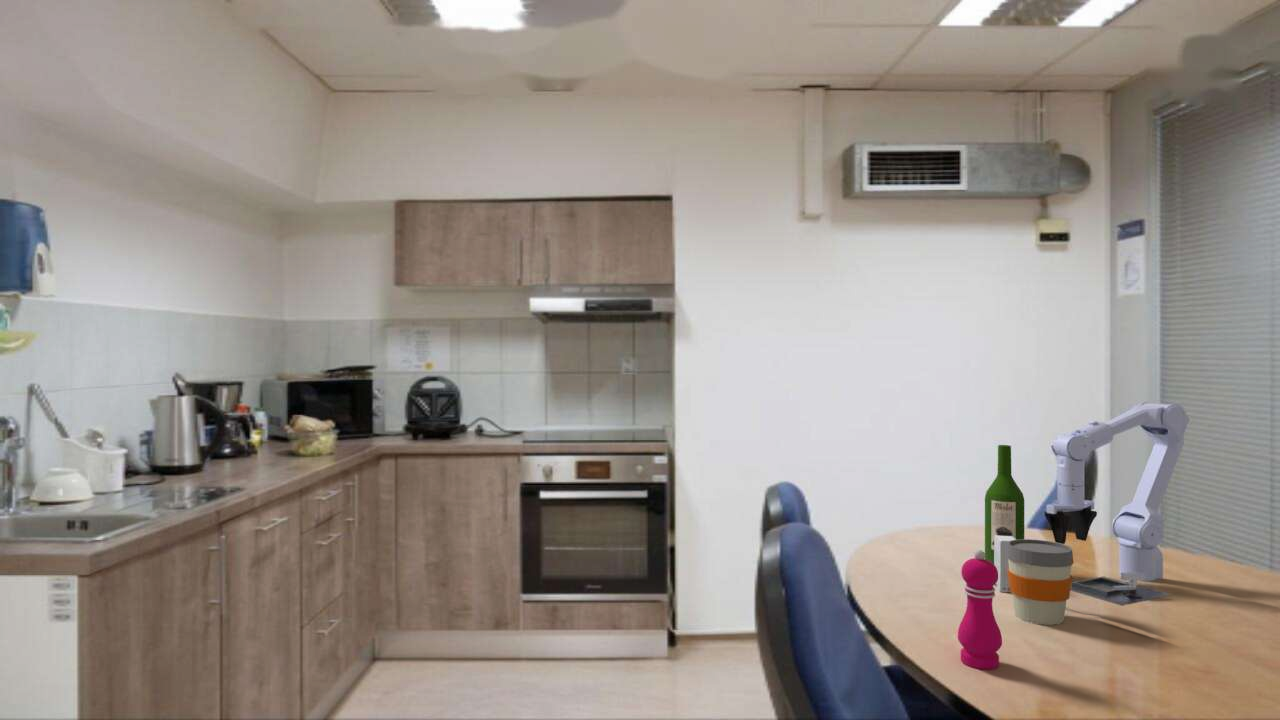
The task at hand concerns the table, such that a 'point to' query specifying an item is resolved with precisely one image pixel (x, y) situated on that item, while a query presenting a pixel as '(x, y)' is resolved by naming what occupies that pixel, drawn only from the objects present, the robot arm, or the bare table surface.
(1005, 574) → the skincare box
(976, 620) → the pepper mill
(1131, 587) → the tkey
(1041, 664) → the table surface
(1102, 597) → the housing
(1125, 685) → the table surface
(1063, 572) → the reusable coffee cup
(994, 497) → the wine bottle
